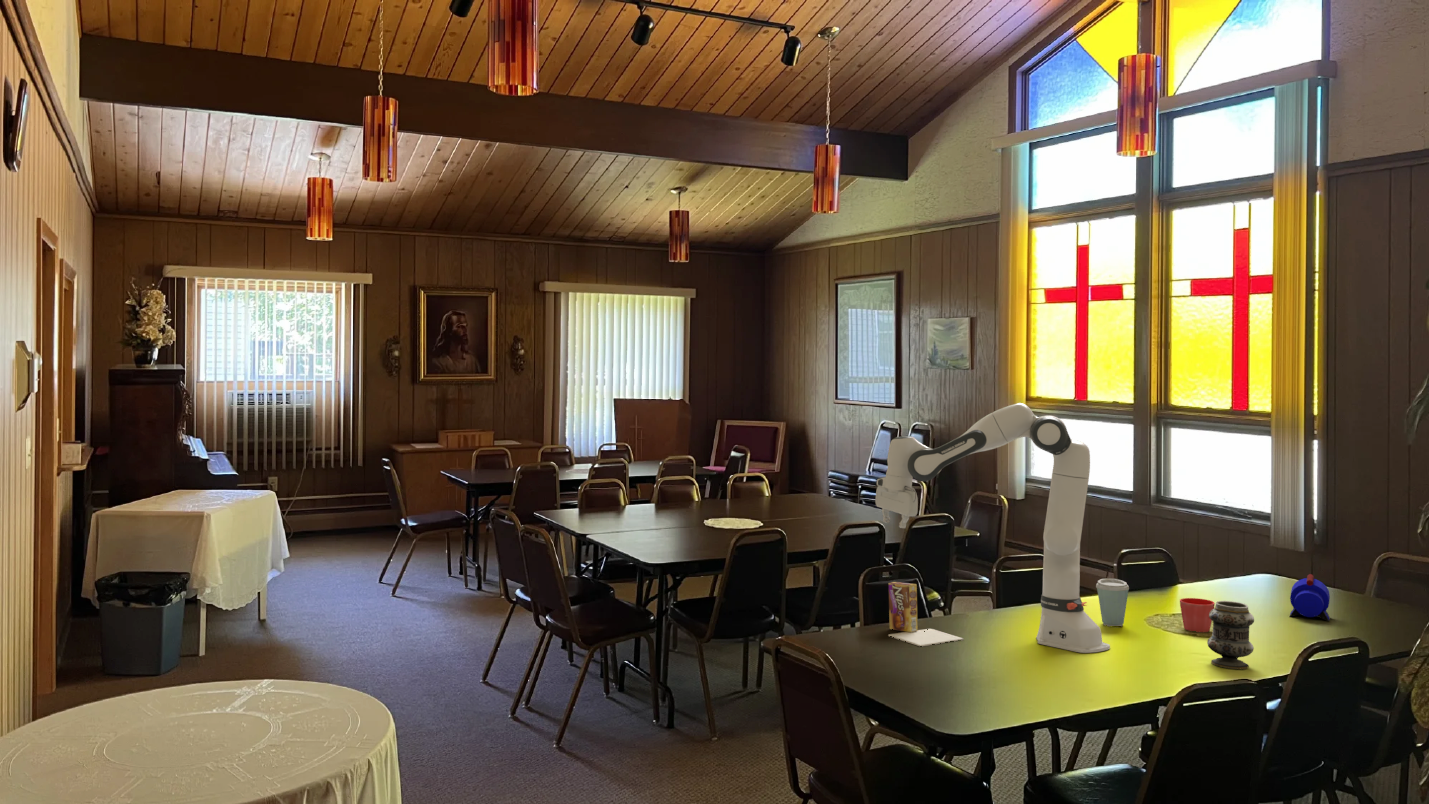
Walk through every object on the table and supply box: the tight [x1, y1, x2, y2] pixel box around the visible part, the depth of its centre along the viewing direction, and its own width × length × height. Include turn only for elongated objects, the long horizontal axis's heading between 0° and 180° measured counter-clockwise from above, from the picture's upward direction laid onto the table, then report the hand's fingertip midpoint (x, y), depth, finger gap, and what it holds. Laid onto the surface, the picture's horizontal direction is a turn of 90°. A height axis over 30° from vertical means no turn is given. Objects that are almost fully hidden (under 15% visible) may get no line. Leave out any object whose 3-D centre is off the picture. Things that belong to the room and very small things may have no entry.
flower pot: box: [1179, 597, 1216, 633], centre depth 339 cm, size 11×11×10 cm
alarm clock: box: [1289, 573, 1331, 623], centre depth 361 cm, size 12×12×15 cm
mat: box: [887, 628, 964, 647], centre depth 322 cm, size 15×18×1 cm
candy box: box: [888, 581, 919, 632], centre depth 331 cm, size 9×4×15 cm, turn 39°
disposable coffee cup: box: [1095, 578, 1130, 627], centre depth 344 cm, size 11×11×15 cm
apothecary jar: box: [1207, 600, 1255, 670], centre depth 295 cm, size 12×12×18 cm
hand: (894, 525), depth 337 cm, fingers open, 8 cm apart
